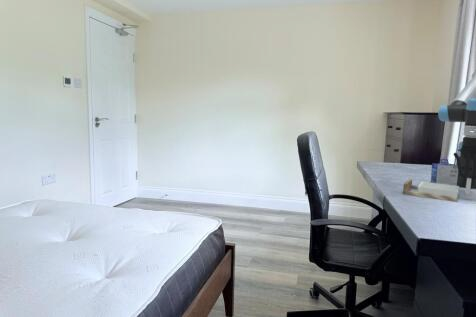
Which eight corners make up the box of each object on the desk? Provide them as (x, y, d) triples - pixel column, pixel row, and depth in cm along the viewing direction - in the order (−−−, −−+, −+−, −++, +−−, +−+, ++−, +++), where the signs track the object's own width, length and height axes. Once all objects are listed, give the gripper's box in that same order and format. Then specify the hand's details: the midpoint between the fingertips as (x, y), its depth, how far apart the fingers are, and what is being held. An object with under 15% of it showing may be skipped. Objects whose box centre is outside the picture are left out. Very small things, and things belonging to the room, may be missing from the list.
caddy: (457, 194, 143) (458, 186, 142) (456, 200, 131) (457, 191, 131) (421, 189, 151) (422, 181, 151) (417, 195, 140) (418, 186, 139)
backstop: (457, 194, 144) (459, 184, 143) (456, 201, 131) (458, 190, 130) (408, 188, 155) (409, 178, 155) (402, 193, 142) (403, 183, 141)
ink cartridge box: (449, 188, 157) (452, 158, 155) (456, 191, 151) (460, 160, 149) (428, 187, 157) (432, 158, 155) (435, 190, 151) (438, 159, 150)
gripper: (454, 136, 133) (448, 192, 136) (495, 138, 125) (487, 197, 128) (455, 135, 139) (449, 189, 142) (493, 137, 132) (486, 194, 134)
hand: (467, 193), depth 135 cm, fingers closed
